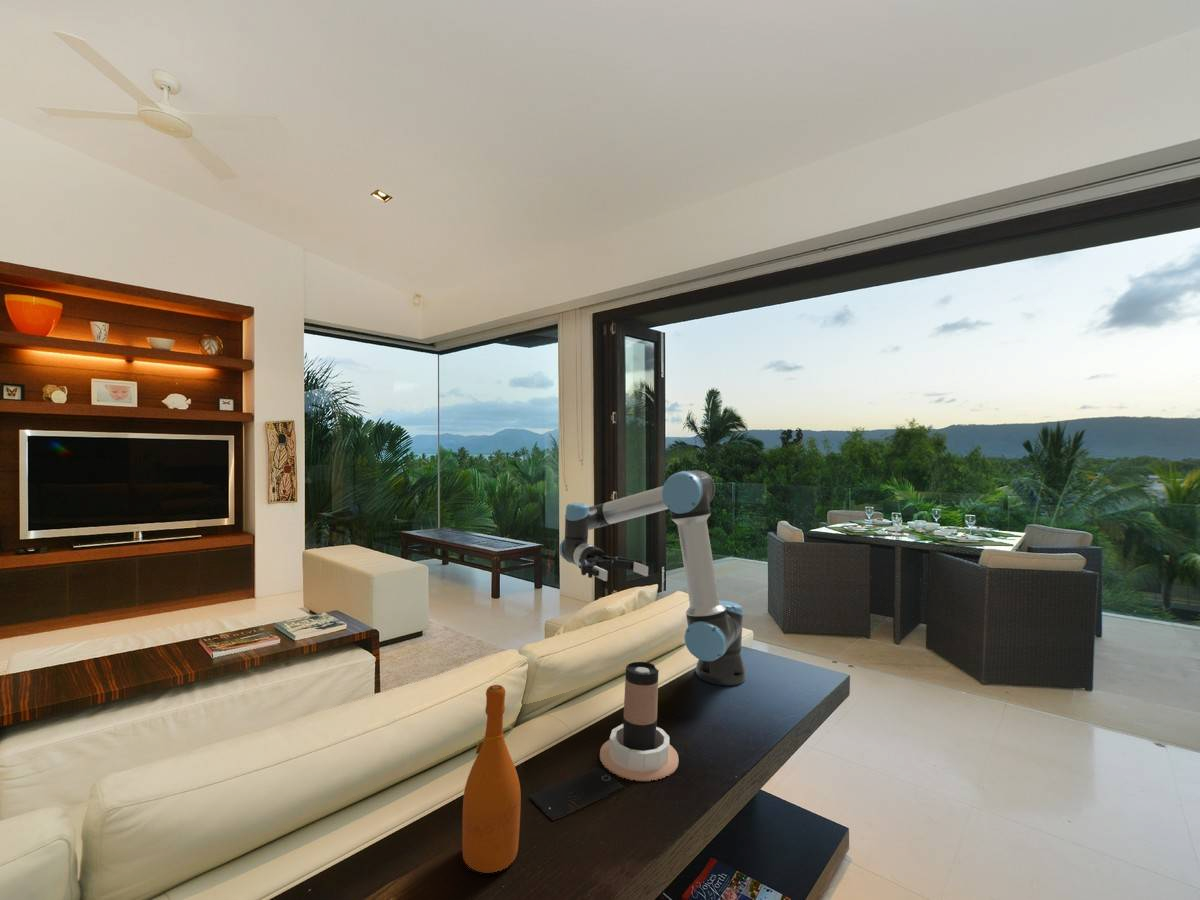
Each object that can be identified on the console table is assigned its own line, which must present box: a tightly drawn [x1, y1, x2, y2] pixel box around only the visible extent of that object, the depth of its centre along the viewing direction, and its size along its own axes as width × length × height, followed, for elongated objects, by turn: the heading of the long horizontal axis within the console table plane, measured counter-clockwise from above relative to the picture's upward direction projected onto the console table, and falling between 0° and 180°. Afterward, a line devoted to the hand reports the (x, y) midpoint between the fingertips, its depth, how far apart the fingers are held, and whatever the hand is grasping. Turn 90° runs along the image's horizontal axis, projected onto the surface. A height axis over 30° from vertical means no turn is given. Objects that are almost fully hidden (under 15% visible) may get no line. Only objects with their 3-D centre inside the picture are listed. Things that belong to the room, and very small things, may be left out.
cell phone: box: [529, 766, 625, 818], centre depth 120 cm, size 9×18×1 cm, turn 129°
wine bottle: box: [461, 684, 522, 874], centre depth 101 cm, size 10×10×30 cm
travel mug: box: [623, 661, 660, 751], centre depth 134 cm, size 8×8×20 cm
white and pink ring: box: [599, 723, 680, 782], centre depth 134 cm, size 18×18×5 cm
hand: (627, 573), depth 163 cm, fingers open, 13 cm apart
